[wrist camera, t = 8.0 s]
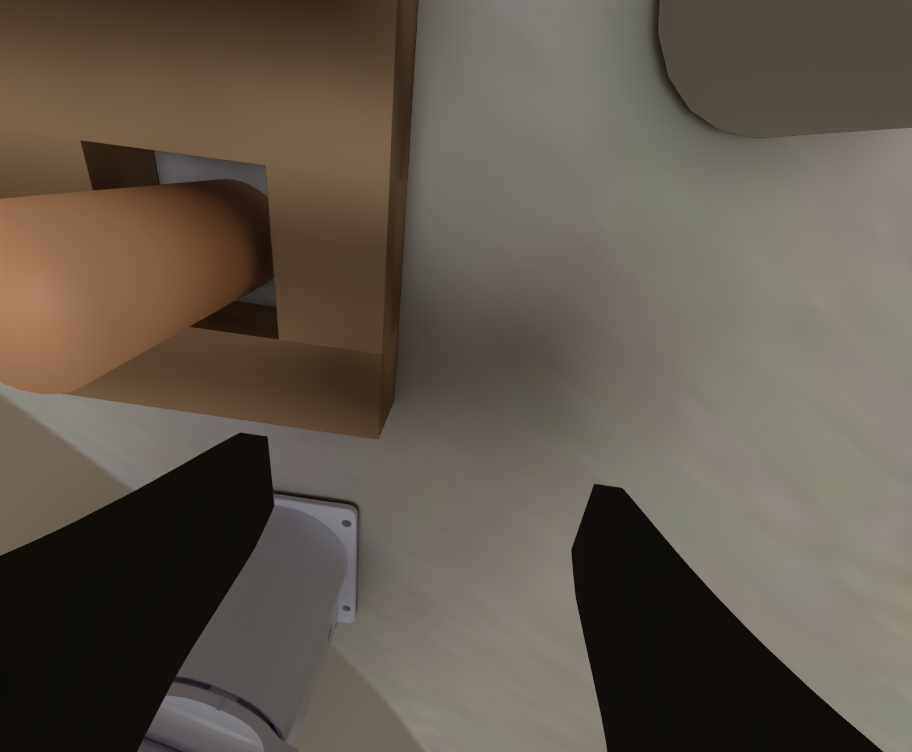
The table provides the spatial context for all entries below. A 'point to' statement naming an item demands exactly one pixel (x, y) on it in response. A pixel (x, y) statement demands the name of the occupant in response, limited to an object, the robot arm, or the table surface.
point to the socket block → (244, 140)
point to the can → (791, 63)
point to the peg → (120, 273)
